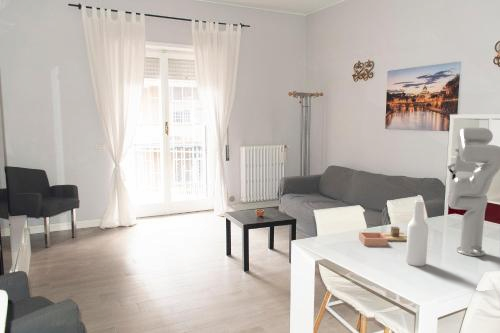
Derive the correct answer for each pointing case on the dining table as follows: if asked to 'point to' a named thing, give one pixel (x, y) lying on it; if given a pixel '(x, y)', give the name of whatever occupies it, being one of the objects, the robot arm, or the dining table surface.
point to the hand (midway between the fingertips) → (463, 181)
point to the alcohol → (417, 237)
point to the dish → (372, 239)
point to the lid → (395, 235)
